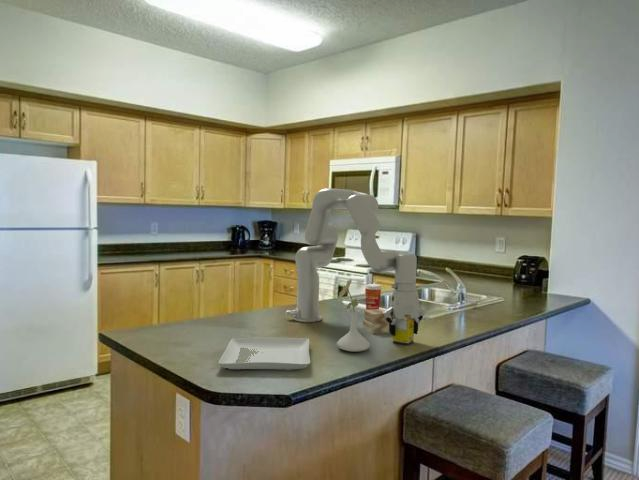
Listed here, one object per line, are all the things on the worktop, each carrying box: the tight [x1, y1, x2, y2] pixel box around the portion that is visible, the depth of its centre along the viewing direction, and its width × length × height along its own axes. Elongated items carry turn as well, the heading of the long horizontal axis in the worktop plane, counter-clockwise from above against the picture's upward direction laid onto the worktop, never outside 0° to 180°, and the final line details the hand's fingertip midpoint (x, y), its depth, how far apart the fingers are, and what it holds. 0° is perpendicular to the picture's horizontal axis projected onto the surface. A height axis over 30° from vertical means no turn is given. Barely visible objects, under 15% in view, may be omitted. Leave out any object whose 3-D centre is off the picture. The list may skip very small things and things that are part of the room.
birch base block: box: [362, 318, 390, 335], centre depth 190 cm, size 9×9×4 cm
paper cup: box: [364, 283, 383, 310], centre depth 216 cm, size 8×8×14 cm
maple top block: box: [363, 308, 391, 324], centre depth 190 cm, size 8×8×4 cm
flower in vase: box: [336, 278, 371, 353], centre depth 162 cm, size 13×11×25 cm
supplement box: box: [392, 315, 415, 346], centre depth 174 cm, size 6×6×11 cm
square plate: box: [217, 337, 311, 370], centre depth 152 cm, size 27×27×4 cm
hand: (403, 333), depth 174 cm, fingers open, 8 cm apart
